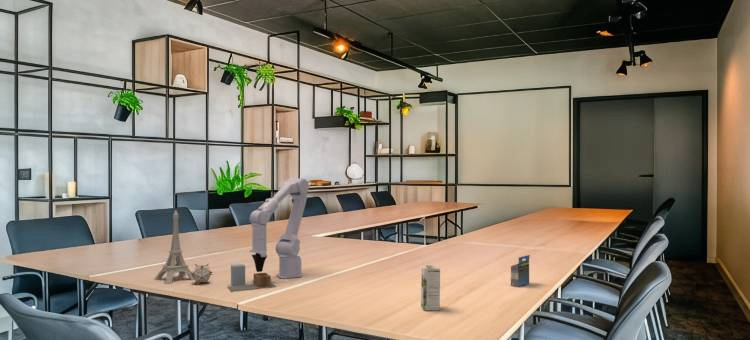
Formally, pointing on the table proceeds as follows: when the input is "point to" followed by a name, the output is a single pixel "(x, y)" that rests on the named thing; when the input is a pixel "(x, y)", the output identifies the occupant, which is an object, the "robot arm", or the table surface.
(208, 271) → the grey faceted ornament
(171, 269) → the eiffel tower
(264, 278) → the walnut block
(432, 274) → the syrup box
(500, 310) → the table surface
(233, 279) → the slate block
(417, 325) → the table surface
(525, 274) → the label tape cartridge
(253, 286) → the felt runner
